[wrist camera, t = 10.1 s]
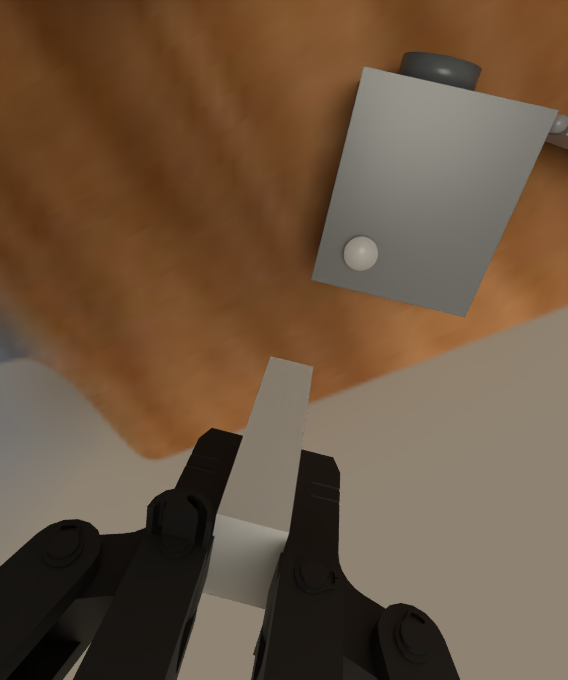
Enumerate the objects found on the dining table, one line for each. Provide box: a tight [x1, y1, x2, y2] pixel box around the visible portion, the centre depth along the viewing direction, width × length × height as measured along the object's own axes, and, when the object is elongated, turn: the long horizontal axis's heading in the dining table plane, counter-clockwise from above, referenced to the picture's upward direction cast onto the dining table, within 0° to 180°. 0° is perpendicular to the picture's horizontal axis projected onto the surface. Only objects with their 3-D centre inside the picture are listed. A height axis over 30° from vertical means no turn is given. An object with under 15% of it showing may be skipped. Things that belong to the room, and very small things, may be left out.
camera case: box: [311, 52, 568, 317], centre depth 31 cm, size 16×13×9 cm
